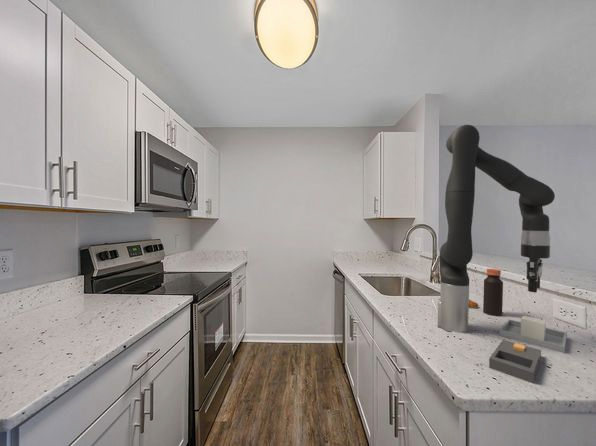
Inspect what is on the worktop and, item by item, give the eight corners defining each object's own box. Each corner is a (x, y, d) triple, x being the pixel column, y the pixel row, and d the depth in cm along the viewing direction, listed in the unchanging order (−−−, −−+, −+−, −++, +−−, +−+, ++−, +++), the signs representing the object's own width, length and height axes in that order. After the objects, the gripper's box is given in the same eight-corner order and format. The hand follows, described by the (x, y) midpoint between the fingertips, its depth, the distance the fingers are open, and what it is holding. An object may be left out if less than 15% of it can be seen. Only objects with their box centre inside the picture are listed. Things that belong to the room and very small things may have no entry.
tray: (499, 336, 91) (499, 329, 91) (508, 325, 102) (508, 319, 102) (564, 354, 79) (564, 346, 79) (566, 339, 90) (566, 332, 90)
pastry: (478, 306, 126) (478, 298, 126) (477, 310, 120) (477, 302, 120) (455, 302, 131) (455, 295, 131) (454, 306, 126) (454, 298, 126)
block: (520, 335, 91) (521, 318, 91) (522, 332, 94) (523, 315, 94) (543, 341, 87) (544, 323, 87) (545, 337, 90) (545, 320, 90)
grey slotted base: (489, 367, 71) (489, 355, 71) (502, 347, 83) (503, 336, 83) (533, 383, 65) (533, 369, 64) (541, 358, 77) (541, 347, 77)
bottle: (481, 314, 114) (482, 269, 114) (485, 311, 119) (486, 267, 118) (500, 318, 109) (501, 271, 109) (503, 315, 113) (505, 270, 113)
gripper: (524, 242, 98) (523, 284, 98) (517, 243, 88) (516, 291, 88) (551, 243, 92) (550, 288, 92) (548, 245, 83) (546, 295, 83)
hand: (534, 289), depth 90 cm, fingers open, 8 cm apart
